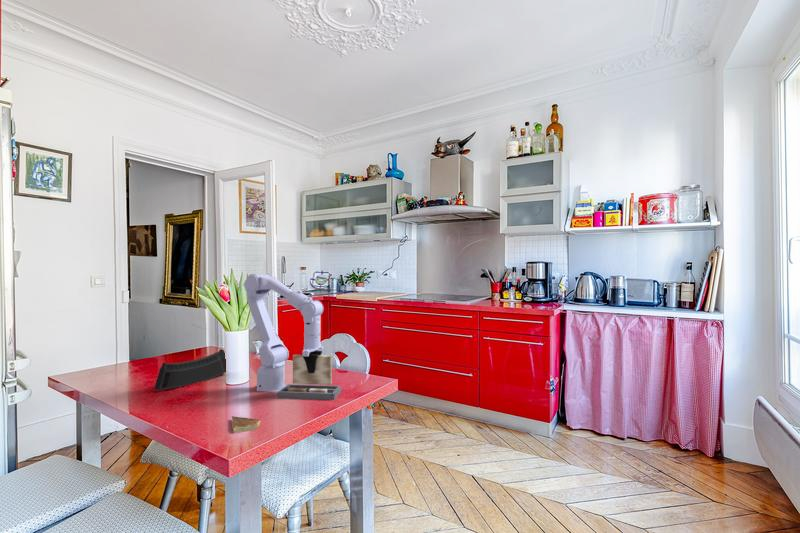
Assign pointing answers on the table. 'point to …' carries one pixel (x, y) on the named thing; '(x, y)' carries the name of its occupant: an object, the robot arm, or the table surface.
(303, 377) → the sheet
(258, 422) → the shard
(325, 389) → the offcut
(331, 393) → the rack
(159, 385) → the magazine
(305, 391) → the offcut
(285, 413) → the table surface
